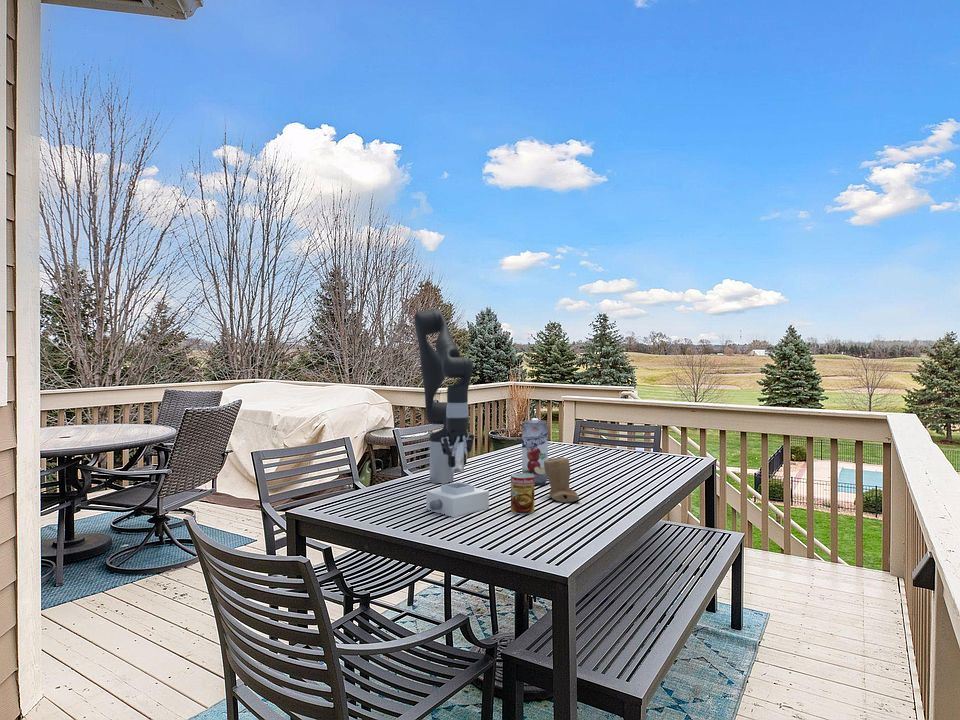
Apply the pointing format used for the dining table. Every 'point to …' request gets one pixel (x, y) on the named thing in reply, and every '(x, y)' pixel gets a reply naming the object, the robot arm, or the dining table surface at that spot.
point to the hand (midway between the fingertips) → (457, 465)
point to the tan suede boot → (559, 479)
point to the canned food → (522, 493)
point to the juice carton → (535, 449)
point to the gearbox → (457, 499)
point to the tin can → (459, 458)
